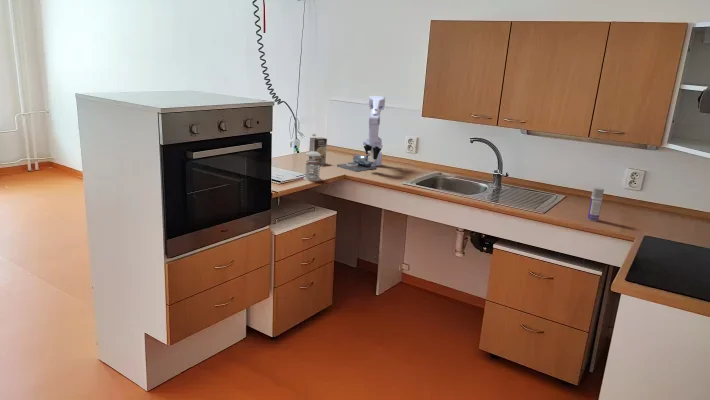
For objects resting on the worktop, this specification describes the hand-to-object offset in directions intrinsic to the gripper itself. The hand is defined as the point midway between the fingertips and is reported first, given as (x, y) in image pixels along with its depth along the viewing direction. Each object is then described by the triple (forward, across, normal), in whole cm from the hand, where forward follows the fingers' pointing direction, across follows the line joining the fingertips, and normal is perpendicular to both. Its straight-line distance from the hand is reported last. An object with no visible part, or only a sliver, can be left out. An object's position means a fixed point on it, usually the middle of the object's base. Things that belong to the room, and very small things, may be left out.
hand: (371, 158), depth 315 cm
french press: (+9, -2, -43) cm, 44 cm away
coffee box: (+9, -36, -13) cm, 39 cm away
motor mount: (+8, -14, +1) cm, 16 cm away
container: (+8, +126, +21) cm, 128 cm away
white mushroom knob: (+2, 0, 0) cm, 2 cm away
